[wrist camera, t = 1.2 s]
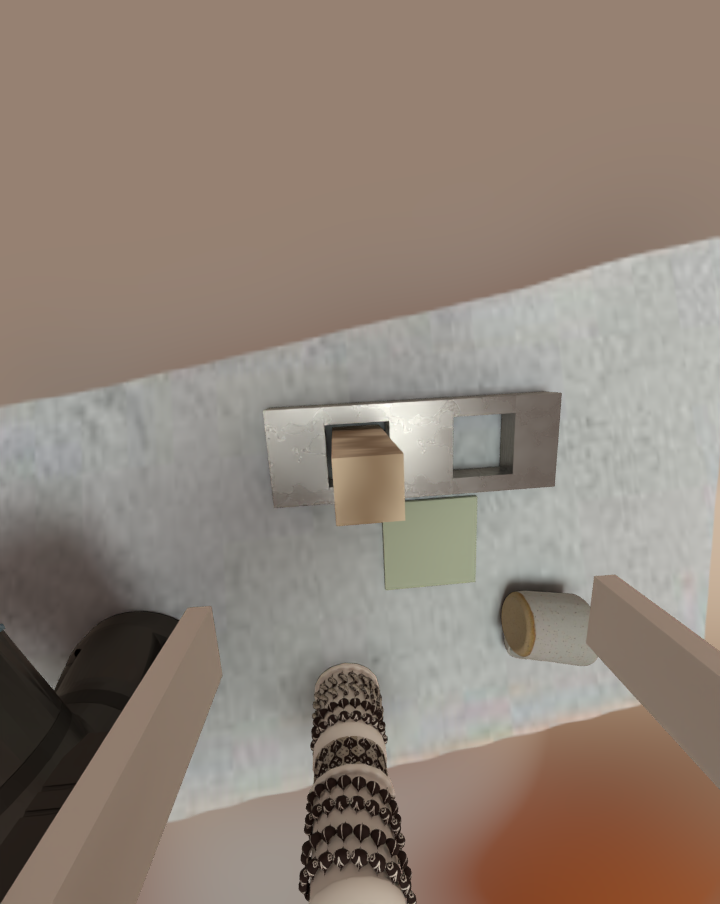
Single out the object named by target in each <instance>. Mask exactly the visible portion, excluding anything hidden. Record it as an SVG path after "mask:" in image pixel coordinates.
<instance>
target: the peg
mask: <svg viewBox="0 0 720 904" xmlns="http://www.w3.org/2000/svg"><path fill="white" fill-rule="evenodd" d="M331 459H332V473H333V487H334V500H335V514H336V526H345V525H357V524H370V523H382V522H394V521H405V487H404V453H403V452H402V451H401V450H400V449H399V448H398V447H397V445H396V444H395V443H394V442H393V441H392V440H391V438H390V437H389V436H388V435H387V434H386V433H385V432H384V430H383V429H382V428H381V427H380V426H379V425H363V426H347V427H332V456H331Z"/></svg>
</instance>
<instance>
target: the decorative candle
mask: <svg viewBox="0 0 720 904" xmlns="http://www.w3.org/2000/svg"><path fill="white" fill-rule="evenodd" d="M314 697H315V700H316V701H314V702H313V708H314V709H316V711H315V713H313V714H312V718H313V719H314V720H313V725H314V727H313V728H312V731H311V732H312V739H313V741H312V742H311V745H310V746H311V750H312V751H313V772H314V784H313V786H312V788H311V789H310V791H309V794H308V796H307V800H308V804H307V806H306V810H307V811H308V812H309V814H307V815H306V818H305V823H306V825H305V828H304V832H305V834H307V835H308V836H309V840H308V841H306V842H305V843H304V844H303V846H302V854H301V862H302V864H303V865H305V868H303V869H302V870H301V872H300V882H299V890H300V892H301V893H302V894H304V896H305V899H306V900H307V901H309V902H310V903H309V904H416V896H415V894H414V893H413V892H412V891H411V881H410V880H411V875H412V873H411V869H410V868H409V867H408V866H407V863H408V858H407V855H406V853H405V852H404V851H402V848H403V847H404V845H405V838H404V836H403V834H402V833H400V831H401V817H400V815H399V814H397V812H398V805H397V803H396V801H394V799H395V791H394V788H393V785H392V782H391V780H390V778H389V777H388V773H387V766H386V763H387V754H386V747H385V744H386V743H387V740H388V739H387V736H386V735H385V722H383V712H384V710H383V706H382V703H381V701H382V697H381V695H380V690H379V684H378V681H377V678H376V676H375V675H374V674H373V673H372V672H371V671H370V670H369V669H368V668H366V667H364V666H361V665H359V664H353V663H343V664H340V665H336V666H333V667H331V668H329V669H328V670H327V671H325V672H324V673H323V674H321V676H320V678H319V679H318V681H317V682H316V684H315V694H314ZM392 816H393V819H392ZM311 851H312V856H311V857H309V855H310V853H311ZM398 864H400V866H401V870H403V874H401V870H400V868H399V866H398ZM309 877H311V882H310V883H308V880H309ZM405 898H407V902H406V899H405Z"/></svg>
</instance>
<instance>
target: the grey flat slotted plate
mask: <svg viewBox="0 0 720 904" xmlns="http://www.w3.org/2000/svg"><path fill="white" fill-rule="evenodd" d="M561 396H562V393H558V392H546V391H541V392H525V393H508V394H492V395H475V396H458V397H442V398H425V399H408V400H392V401H375V402H358V403H342V404H325V405H308V406H292V407H275V408H267V409H265V410H264V411H263V417H264V425H265V434H266V443H267V451H268V460H269V468H270V477H271V486H272V494H273V503H274V508H282V507H294V506H307V505H320V504H333V503H335V500H334V487H333V479H329V470H328V457H327V444H326V431H325V425H333V424H349V423H365V422H381V421H385V431H386V434H387V435H388V436H389V437H390V438H391V440H392V441H393V442H394V443H395V444H396V445H397V447H398V448H399V449H400V450H401V451H402V452H403V453H404V487H405V498H411V497H424V496H437V495H449V494H462V493H475V492H488V491H501V490H514V489H527V488H540V487H553V486H555V474H556V461H557V448H558V435H559V422H560V409H561ZM491 414H502V417H501V443H500V467H488V468H474V469H460V470H453V417H459V416H475V415H491Z"/></svg>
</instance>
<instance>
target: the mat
mask: <svg viewBox="0 0 720 904" xmlns="http://www.w3.org/2000/svg"><path fill="white" fill-rule="evenodd" d="M382 523H383V548H384V572H385V589H386V590H394V589H405V588H415V587H426V586H437V585H448V584H458V583H469V582H475V571H476V529H477V496H476V495H472V496H460V497H447V498H434V499H421V500H408V501H405V521H394V522H382Z"/></svg>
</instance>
